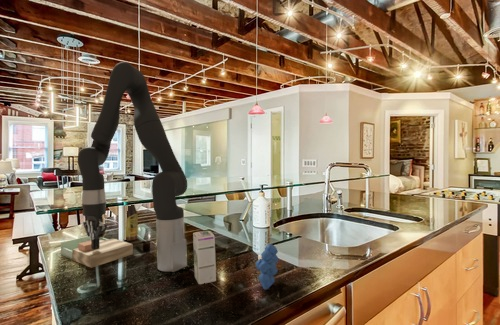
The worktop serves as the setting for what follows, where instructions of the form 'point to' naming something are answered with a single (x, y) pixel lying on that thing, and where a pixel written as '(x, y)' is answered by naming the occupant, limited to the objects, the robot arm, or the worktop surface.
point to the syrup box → (204, 257)
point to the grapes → (267, 266)
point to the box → (74, 245)
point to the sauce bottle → (132, 223)
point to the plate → (103, 253)
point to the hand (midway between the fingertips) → (95, 248)
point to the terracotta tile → (85, 246)
